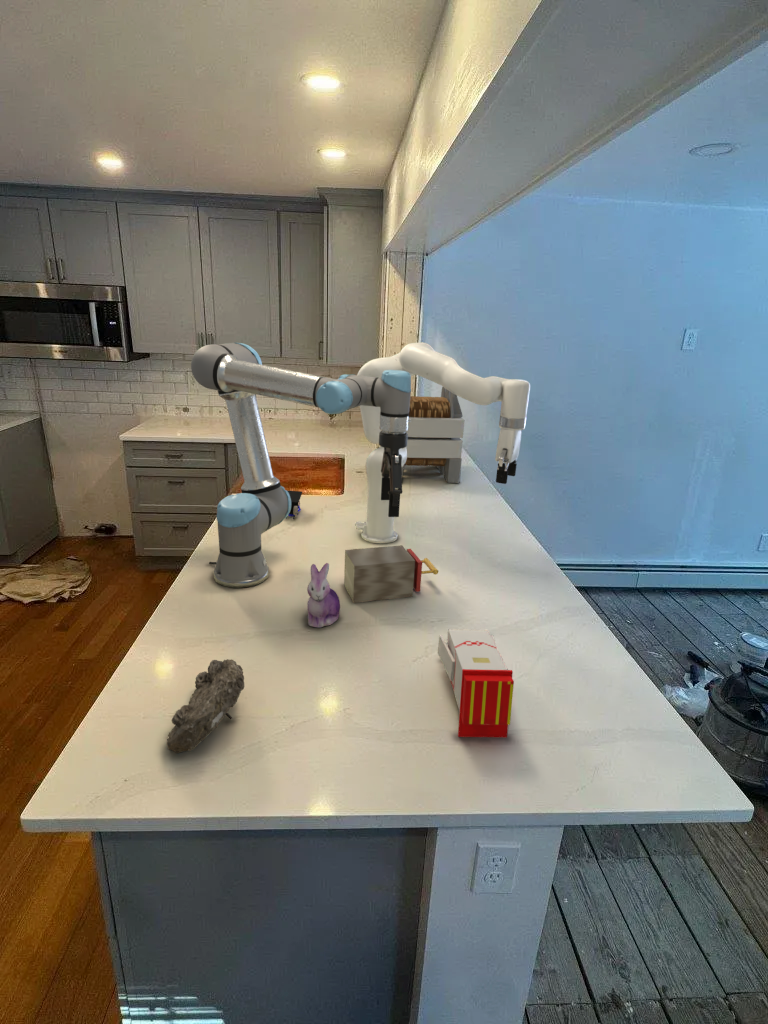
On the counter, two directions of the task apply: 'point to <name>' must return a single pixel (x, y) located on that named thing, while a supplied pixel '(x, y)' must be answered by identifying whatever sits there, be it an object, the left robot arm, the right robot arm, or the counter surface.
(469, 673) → the toy
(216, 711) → the fossil
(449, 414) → the transformer
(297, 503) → the figurine character
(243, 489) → the left robot arm
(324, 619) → the figurine
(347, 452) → the counter surface
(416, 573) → the drawer
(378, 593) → the cabinet
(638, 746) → the counter surface
